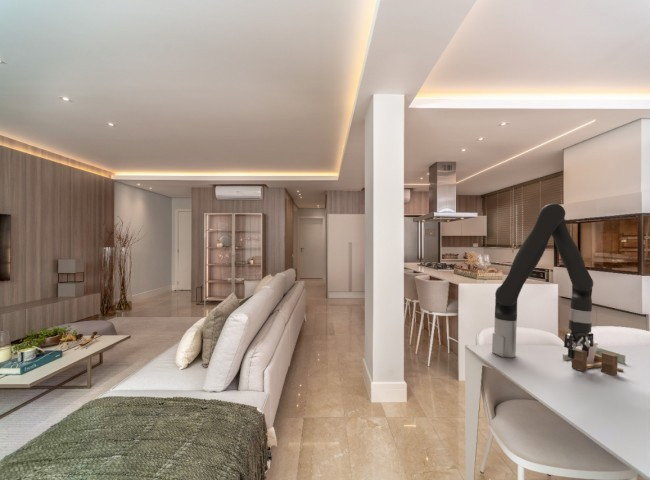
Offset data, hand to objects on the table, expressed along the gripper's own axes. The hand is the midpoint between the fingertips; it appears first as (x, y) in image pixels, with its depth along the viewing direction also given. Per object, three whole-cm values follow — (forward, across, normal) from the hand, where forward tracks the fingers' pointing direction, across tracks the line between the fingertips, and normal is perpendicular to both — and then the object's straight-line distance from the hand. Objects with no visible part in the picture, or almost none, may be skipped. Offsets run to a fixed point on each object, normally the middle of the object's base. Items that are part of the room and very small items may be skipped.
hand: (578, 357), depth 132 cm
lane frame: (+5, -17, -5) cm, 19 cm away
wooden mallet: (+5, -9, -3) cm, 11 cm away
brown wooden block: (+5, -13, +6) cm, 15 cm away
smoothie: (+5, -14, -5) cm, 16 cm away
